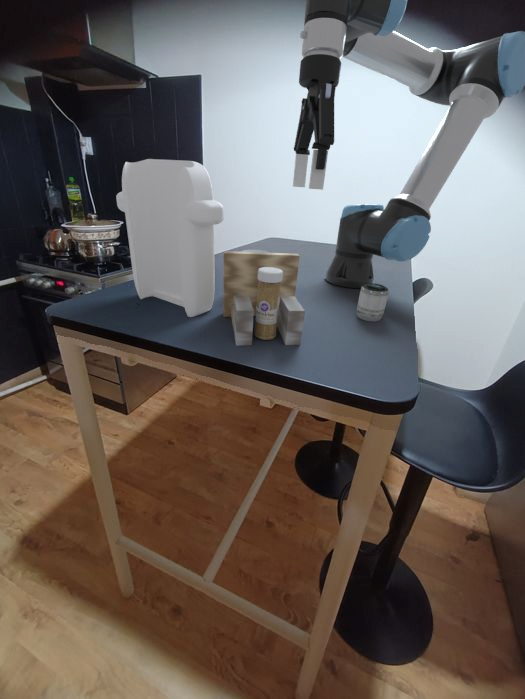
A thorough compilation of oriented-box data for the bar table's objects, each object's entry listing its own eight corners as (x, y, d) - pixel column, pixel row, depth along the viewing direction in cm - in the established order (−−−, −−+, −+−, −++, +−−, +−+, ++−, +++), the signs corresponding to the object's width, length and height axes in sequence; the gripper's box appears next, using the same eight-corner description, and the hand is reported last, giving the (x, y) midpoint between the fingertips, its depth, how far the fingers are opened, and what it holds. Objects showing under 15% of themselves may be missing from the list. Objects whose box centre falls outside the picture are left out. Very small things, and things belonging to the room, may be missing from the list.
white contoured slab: (236, 310, 75) (240, 164, 61) (203, 324, 67) (199, 159, 53) (159, 285, 88) (148, 160, 74) (124, 294, 80) (103, 155, 66)
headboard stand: (290, 313, 76) (297, 253, 69) (309, 344, 62) (319, 273, 55) (223, 313, 73) (223, 251, 66) (226, 345, 59) (227, 271, 52)
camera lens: (360, 310, 81) (367, 280, 77) (385, 316, 78) (393, 285, 74) (351, 317, 76) (358, 285, 72) (377, 324, 73) (385, 291, 69)
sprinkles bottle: (252, 339, 62) (256, 271, 56) (255, 329, 66) (259, 265, 60) (276, 341, 62) (282, 273, 55) (277, 332, 66) (283, 267, 59)
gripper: (286, 75, 69) (278, 185, 79) (323, 28, 47) (305, 188, 57) (320, 79, 70) (307, 187, 80) (370, 36, 48) (344, 191, 58)
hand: (306, 188), depth 68 cm, fingers open, 13 cm apart
